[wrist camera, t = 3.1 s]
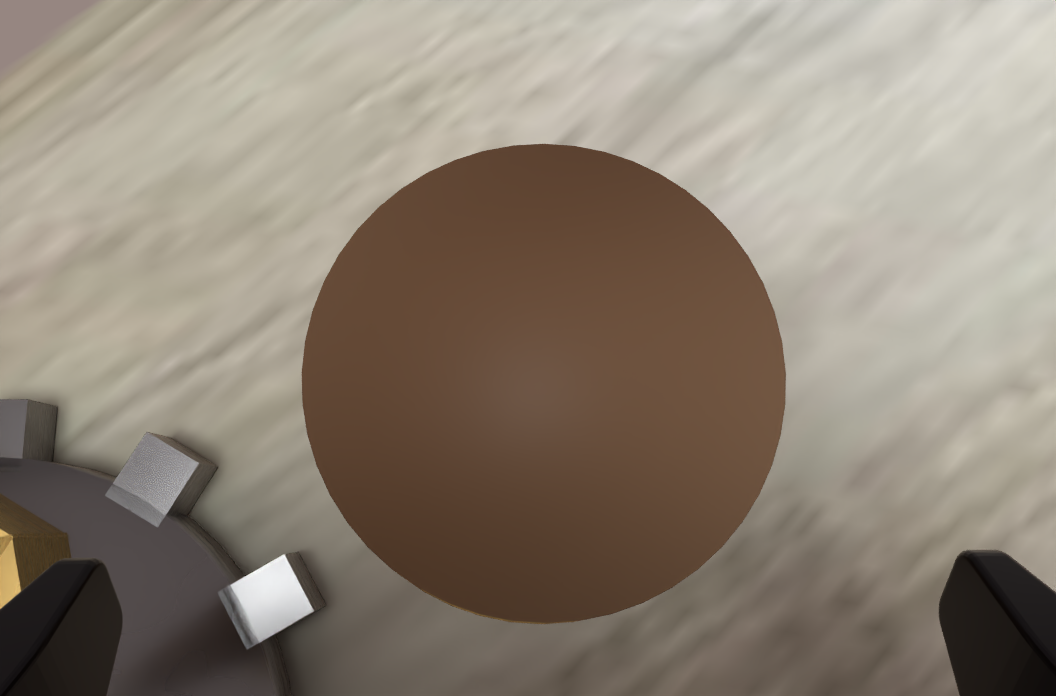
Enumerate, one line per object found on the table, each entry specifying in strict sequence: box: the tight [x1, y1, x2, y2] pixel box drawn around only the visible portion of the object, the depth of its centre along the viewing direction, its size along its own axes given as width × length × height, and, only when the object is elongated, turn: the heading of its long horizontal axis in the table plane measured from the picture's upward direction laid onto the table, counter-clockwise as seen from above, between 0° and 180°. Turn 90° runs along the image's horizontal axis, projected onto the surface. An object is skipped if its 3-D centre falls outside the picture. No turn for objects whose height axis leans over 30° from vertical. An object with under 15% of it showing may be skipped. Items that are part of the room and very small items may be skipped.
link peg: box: [302, 144, 786, 624], centre depth 13 cm, size 4×4×12 cm
